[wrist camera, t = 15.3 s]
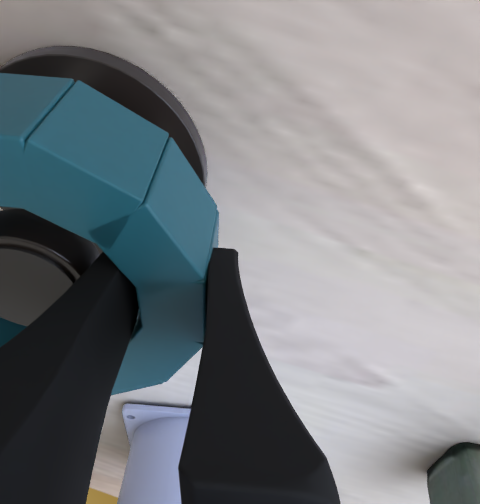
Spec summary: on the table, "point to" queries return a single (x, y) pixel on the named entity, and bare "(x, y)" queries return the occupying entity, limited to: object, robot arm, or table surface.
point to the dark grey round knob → (49, 234)
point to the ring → (114, 208)
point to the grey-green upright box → (456, 476)
